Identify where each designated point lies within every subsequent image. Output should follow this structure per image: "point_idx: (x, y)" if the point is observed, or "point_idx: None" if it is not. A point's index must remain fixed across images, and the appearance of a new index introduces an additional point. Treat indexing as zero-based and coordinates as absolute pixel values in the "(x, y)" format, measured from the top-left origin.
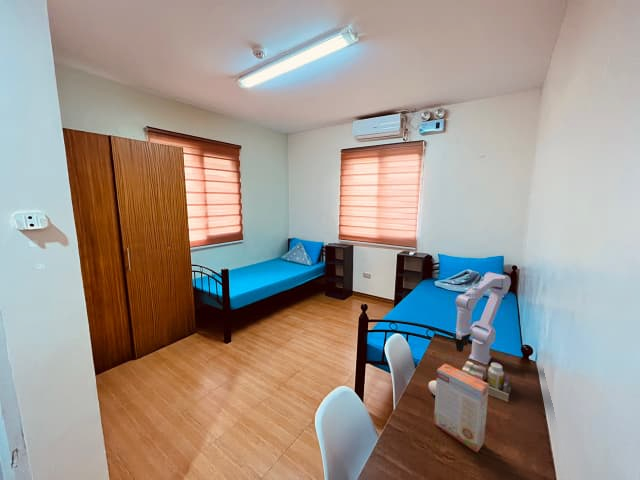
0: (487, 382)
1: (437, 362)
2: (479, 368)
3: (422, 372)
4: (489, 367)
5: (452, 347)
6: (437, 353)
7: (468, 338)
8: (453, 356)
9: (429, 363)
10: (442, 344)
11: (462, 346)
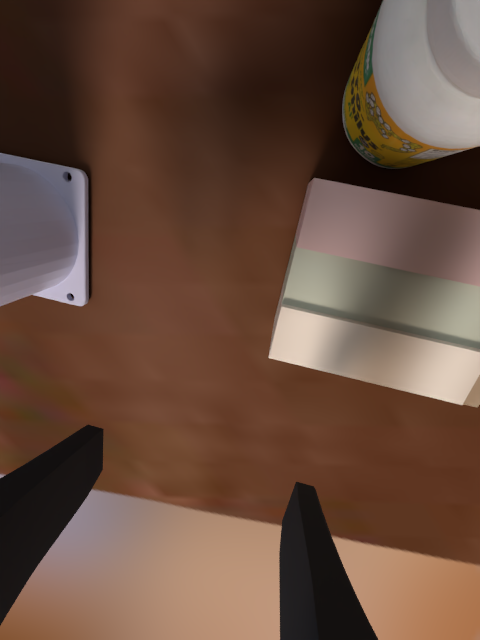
0: (417, 164)
1: (269, 474)
2: (367, 250)
3: (433, 542)
4: (440, 129)
5: (22, 396)
6: (161, 471)
7: (2, 521)
8: (132, 392)
9: None
10: (32, 446)
11: (349, 598)
